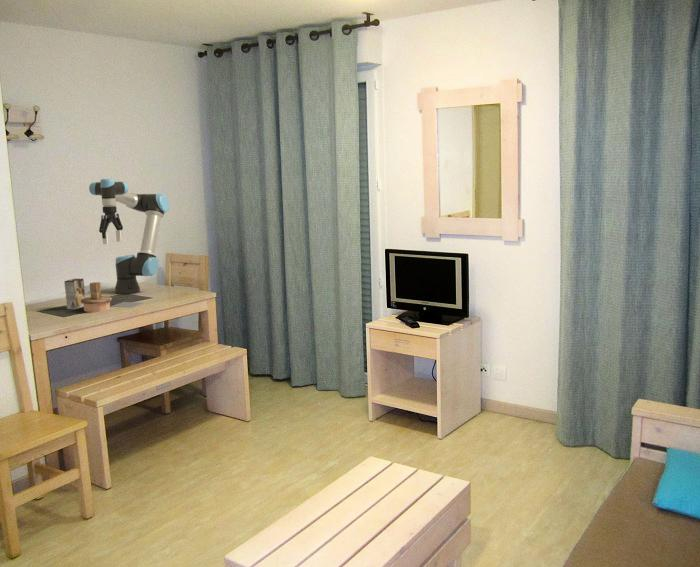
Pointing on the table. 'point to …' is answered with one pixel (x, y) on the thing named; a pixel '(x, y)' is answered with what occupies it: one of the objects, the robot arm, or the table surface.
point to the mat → (127, 304)
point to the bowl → (97, 307)
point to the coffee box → (74, 293)
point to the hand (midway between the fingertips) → (112, 242)
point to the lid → (96, 295)
